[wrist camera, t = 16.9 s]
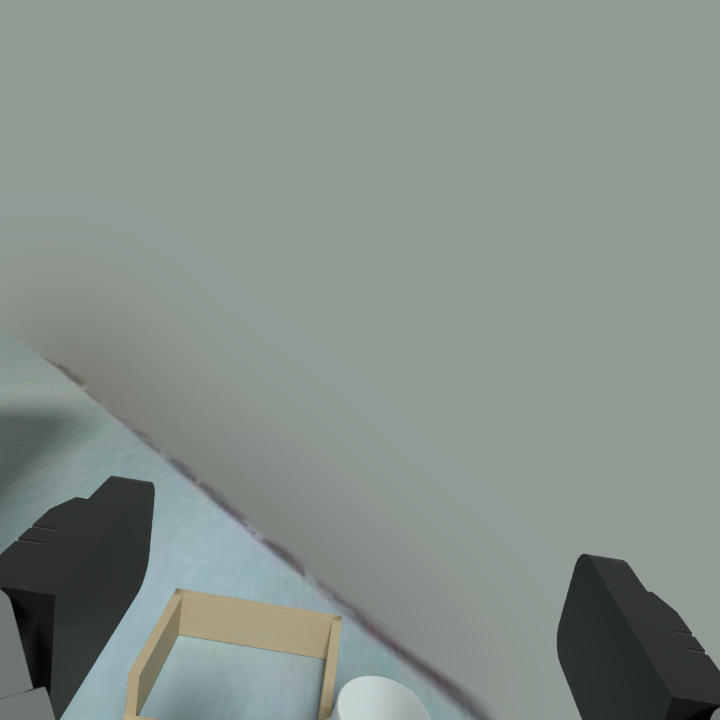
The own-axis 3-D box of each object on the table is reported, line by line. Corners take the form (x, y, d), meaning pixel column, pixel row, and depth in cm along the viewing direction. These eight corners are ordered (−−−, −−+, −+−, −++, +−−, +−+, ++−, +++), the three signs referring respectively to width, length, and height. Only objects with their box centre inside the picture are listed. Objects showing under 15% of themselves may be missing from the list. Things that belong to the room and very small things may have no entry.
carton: (304, 920, 27) (314, 864, 26) (43, 876, 27) (46, 819, 26) (335, 654, 43) (342, 616, 42) (172, 627, 43) (176, 588, 42)
